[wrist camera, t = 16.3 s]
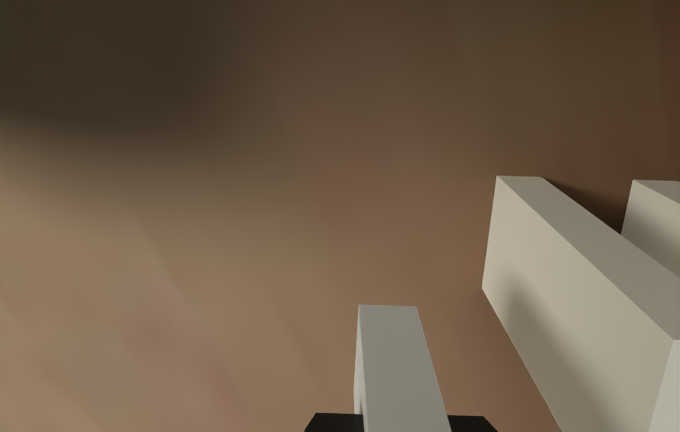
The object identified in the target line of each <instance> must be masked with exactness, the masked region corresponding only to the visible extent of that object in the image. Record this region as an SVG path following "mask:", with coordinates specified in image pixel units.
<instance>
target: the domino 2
mask: <svg viewBox="0 0 680 432" xmlns="http://www.w3.org/2000/svg"><path fill="white" fill-rule="evenodd" d="M621 236H623V237H624V238H625V239H627V240H628V241H629V242H631V243H632V244H634V245H635V246H636V247H638V248H639V249H640V250H642V251H643V252H644V253H646V254H647V255H649V256H650V257H651V258H653V259H654V260H655V261H657V262H658V263H659V264H661V265H662V266H664V267H665V268H666V269H668V270H669V271H670V272H672V273H673V274H674V275H676V276H677V277H679V278H680V182H678V181H659V180H633V181H632V186H631V190H630V195H629V200H628V204H627V209H626V213H625V218H624V222H623V227H622V231H621Z"/></svg>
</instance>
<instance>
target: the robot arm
mask: <svg viewBox="0 0 680 432" xmlns="http://www.w3.org/2000/svg"><path fill="white" fill-rule="evenodd" d="M354 410H355V414H336V413H316V414H315V415H314V417H313V418H312V420H311V421H310V423H309V424H308V426H307V427H306V429H305V432H498V431H497V430H496V429H495V428H494V427H493V426H492V425H491V424H490V423H489V422H488V421H487V420H486V419H485V418H484V417H483V416H455V415H447V414H446V410H445V407H444V403H443V400H442V396H441V393H440V389H439V385H438V382H437V378H436V375H435V371H434V368H433V364H432V361H431V357H430V354H429V350H428V346H427V343H426V339H425V336H424V332H423V329H422V325H421V322H420V318H419V315H418V311H417V308H416V306H388V305H359V310H358V327H357V344H356V362H355V379H354Z"/></svg>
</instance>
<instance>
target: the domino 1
mask: <svg viewBox="0 0 680 432" xmlns="http://www.w3.org/2000/svg"><path fill="white" fill-rule="evenodd" d="M482 289H483V291H484V293H485V295H486V296H487V298H488V300H489V302H490V304H491V305H492V307H493V309H494V311H495V313H496V314H497V316H498V318H499V320H500V322H501V323H502V325H503V327H504V329H505V331H506V332H507V334H508V336H509V338H510V340H511V341H512V343H513V345H514V347H515V348H516V350H517V352H518V354H519V356H520V357H521V359H522V361H523V363H524V365H525V366H526V368H527V370H528V372H529V374H530V375H531V377H532V379H533V381H534V383H535V384H536V386H537V388H538V390H539V392H540V393H541V395H542V397H543V399H544V401H545V402H546V404H547V406H548V408H549V410H550V411H551V413H552V415H553V417H554V419H555V420H556V422H557V424H558V426H559V428H560V429H561V431H562V432H680V278H679V277H677V276H676V275H674V274H673V273H672V272H670V271H669V270H668V269H666V268H665V267H664V266H662V265H661V264H659V263H658V262H657V261H655V260H654V259H653V258H651V257H650V256H649V255H647V254H646V253H644V252H643V251H642V250H640V249H639V248H638V247H636V246H635V245H634V244H632V243H631V242H629V241H628V240H627V239H625V238H624V237H623V236H621V235H620V234H619V233H617V232H616V231H614V230H613V229H612V228H610V227H609V226H608V225H606V224H605V223H604V222H602V221H601V220H600V219H598V218H597V217H595V216H594V215H593V214H591V213H590V212H589V211H587V210H586V209H585V208H583V207H582V206H580V205H579V204H578V203H576V202H575V201H574V200H572V199H571V198H570V197H568V196H567V195H565V194H564V193H563V192H561V191H560V190H559V189H557V188H556V187H555V186H553V185H552V184H550V183H549V182H548V181H546V180H545V179H544V178H542V177H529V176H497V177H496V185H495V192H494V200H493V207H492V215H491V222H490V230H489V237H488V245H487V252H486V260H485V267H484V275H483V282H482Z"/></svg>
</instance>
